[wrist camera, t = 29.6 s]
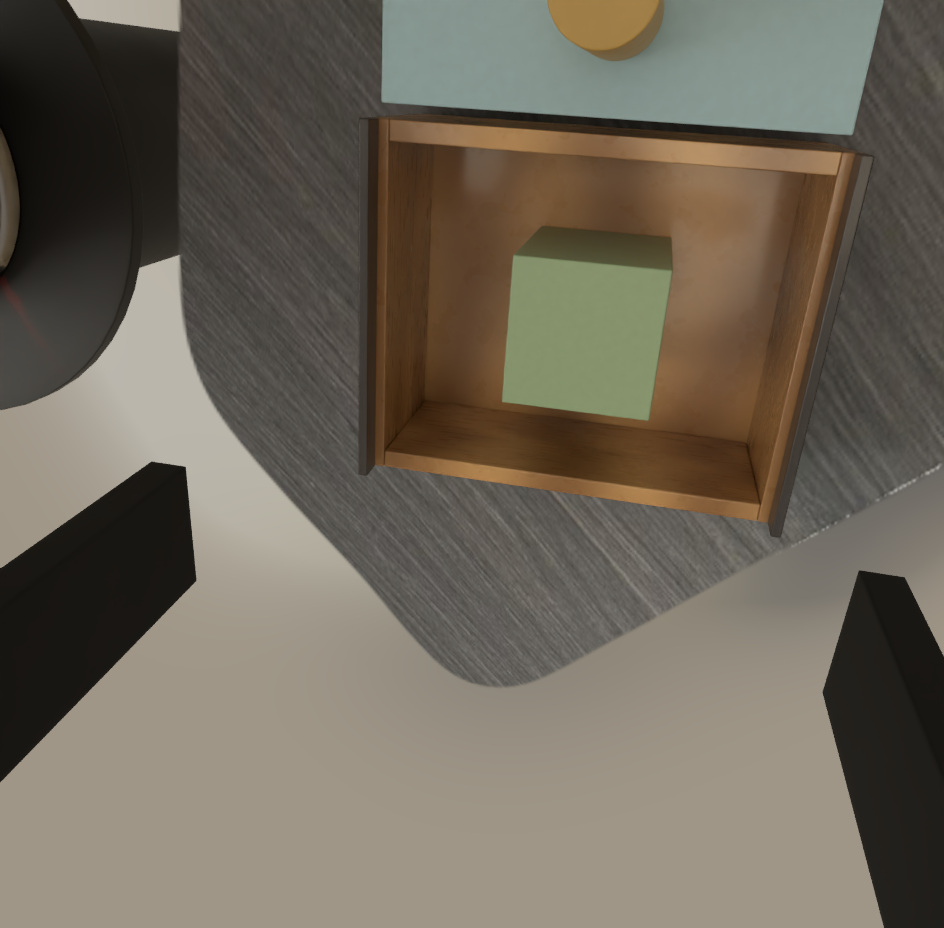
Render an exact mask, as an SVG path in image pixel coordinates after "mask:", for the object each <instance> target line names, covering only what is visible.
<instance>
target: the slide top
mask: <svg viewBox="0 0 944 928" xmlns="http://www.w3.org/2000/svg"><path fill="white" fill-rule="evenodd" d="M883 3H884V0H383V26H382V103H393V104H408V105H422V106H436V107H451V108H465V109H479V110H494V111H508V112H522V113H537V114H551V115H565V116H580V117H594V118H608V119H623V120H637V121H651V122H666V123H680V124H694V125H708V126H723V127H737V128H751V129H766V130H780V131H794V132H809V133H823V134H837V135H852V134H853V131H854V127H855V123H856V119H857V114H858V110H859V106H860V101H861V97H862V93H863V89H864V84H865V80H866V76H867V72H868V67H869V63H870V59H871V54H872V50H873V46H874V42H875V37H876V33H877V29H878V25H879V20H880V16H881V12H882V7H883Z"/></svg>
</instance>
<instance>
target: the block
mask: <svg viewBox="0 0 944 928" xmlns="http://www.w3.org/2000/svg"><path fill="white" fill-rule="evenodd" d="M672 274H673V262H672V238H670V237H660V236H649V235H638V234H627V233H616V232H605V231H594V230H583V229H572V228H562V227H551V226H541V227H540V228H539V229H538V230H537V231H536V233H535V234H534V235H533V236H532V237H531V238H530V239H529V240H528V241H527V242H526V243H525V244H524V245H523V246H522V247H521V248H520V249H519V250H518V251H517V252H516V253H515V254H514V255H513V264H512V277H511V290H510V302H509V315H508V328H507V341H506V354H505V367H504V380H503V393H502V402H507V403H514V404H522V405H530V406H538V407H545V408H553V409H561V410H569V411H576V412H584V413H592V414H600V415H607V416H615V417H623V418H631V419H638V420H646V421H648V420H649V419H650V413H651V407H652V400H653V394H654V388H655V382H656V375H657V369H658V363H659V356H660V350H661V344H662V337H663V331H664V325H665V318H666V312H667V306H668V299H669V293H670V287H671V281H672Z"/></svg>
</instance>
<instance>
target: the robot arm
mask: <svg viewBox="0 0 944 928" xmlns="http://www.w3.org/2000/svg"><path fill="white" fill-rule="evenodd" d="M20 225H21V192H20V184H19V178H18V173H17V168H16V164H15V161H14V157H13V154H12V151H11V148H10V145H9V142H8V140H7V137H6V135H5V132H4V130H3V128H2V126H1V123H0V278H1V276H2V275H3V273H4V272H5V271H6V269H7V267H8V265H9V263H10V261H11V259H12V257H13V254H14V252H15V249H16V246H17V242H18V238H19V232H20ZM194 582H196V571H195V561H194V550H193V540H192V529H191V519H190V508H189V498H188V488H187V477H186V467H183V466H176V465H170V464H163V463H156V462H150V463H149V464H148V465H146V466H145V467H143V468H142V469H141V470H139V471H138V472H136V473H135V474H133V475H132V476H131V477H129V478H128V479H126V480H125V481H124V482H122V483H121V484H119V485H118V486H117V487H116V488H114V489H112V490H111V491H110V492H108V493H107V494H105V495H104V496H103V497H101V498H100V499H98V500H97V501H95V502H94V503H93V504H91V505H90V506H88V507H87V508H86V509H84V510H83V511H81V512H80V513H78V514H77V515H76V516H74V517H73V518H72V519H70V520H68V521H67V522H66V523H64V524H63V525H61V526H60V527H59V528H57V529H56V530H55V531H53V532H52V533H50V534H49V535H47V536H46V537H44V538H43V539H42V540H40V541H39V542H37V543H36V544H35V545H33V546H32V547H30V548H29V549H28V550H26V551H25V552H23V553H22V554H20V555H19V556H18V557H16V558H15V559H14V560H12V561H11V562H9V563H8V564H6V565H5V566H4V567H2V568H0V782H1V781H2V780H3V779H4V778H5V777H6V776H7V775H8V774H9V773H10V772H11V771H12V770H13V769H14V768H15V766H17V764H18V763H19V762H20V761H21V760H22V759H23V758H24V757H25V756H26V755H27V754H28V753H29V752H30V751H31V750H32V749H33V748H34V747H35V746H36V745H37V744H38V743H39V742H40V741H41V740H42V739H43V738H44V737H45V736H46V735H47V734H48V733H49V732H50V731H51V729H53V728H54V726H55V725H56V724H57V723H58V722H59V721H60V720H61V719H62V718H63V717H64V716H65V715H66V714H67V713H68V712H69V711H70V710H71V709H72V708H73V707H74V706H75V705H76V704H77V703H78V702H79V701H80V700H81V699H82V698H83V697H84V696H85V695H86V694H87V693H88V692H89V690H90V689H91V688H92V687H93V686H94V685H95V684H96V683H97V682H98V681H99V680H100V679H101V678H102V677H103V676H104V675H105V674H106V673H107V672H108V671H109V670H110V669H111V668H112V667H113V666H114V665H115V664H116V662H118V660H120V659H121V658H122V657H123V655H124V654H125V653H126V652H127V651H128V650H129V649H130V648H131V647H132V646H133V645H134V644H135V643H136V642H137V641H138V640H139V639H140V638H141V637H142V636H143V635H144V634H145V633H146V632H147V631H148V630H149V629H150V628H151V627H152V626H153V625H154V624H155V623H156V622H157V621H158V619H159V618H161V616H162V615H163V614H164V613H165V612H166V611H167V610H168V609H169V608H170V607H171V606H172V605H173V604H174V603H175V602H176V601H177V600H178V599H179V598H180V597H181V596H182V595H183V594H184V593H185V592H186V591H187V590H188V589H189V588H190V587H191V586H192V585H193V584H194ZM823 696H824V700H825V703H826V707H827V711H828V715H829V719H830V723H831V726H832V730H833V734H834V738H835V742H836V745H837V749H838V753H839V757H840V761H841V764H842V768H843V772H844V776H845V780H846V784H847V788H848V791H849V795H850V799H851V803H852V807H853V811H854V814H855V818H856V822H857V825H858V829H859V833H860V837H861V841H862V844H863V849H864V852H865V856H866V860H867V864H868V868H869V872H870V876H871V879H872V883H873V887H874V890H875V895H876V898H877V902H878V906H879V910H880V914H881V917H882V921H883V925H884V928H944V656H943V654H942V652H941V650H940V649H939V646H938V644H937V642H936V640H935V638H934V636H933V634H932V632H931V630H930V628H929V626H928V624H927V622H926V620H925V618H924V616H923V614H922V612H921V610H920V608H919V606H918V604H917V602H916V599H915V598H914V596H913V593H912V591H911V589H910V587H909V585H908V583H907V581H906V579H905V578H904V577H898V576H892V575H886V574H879V573H873V572H866V571H859V572H858V576H857V579H856V582H855V586H854V589H853V593H852V596H851V599H850V602H849V606H848V609H847V612H846V616H845V619H844V623H843V626H842V629H841V633H840V636H839V640H838V643H837V646H836V649H835V653H834V656H833V659H832V663H831V666H830V669H829V673H828V676H827V679H826V683H825V686H824V689H823Z"/></svg>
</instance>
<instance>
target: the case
mask: <svg viewBox="0 0 944 928" xmlns="http://www.w3.org/2000/svg"><path fill="white" fill-rule="evenodd" d="M873 161H874V156H872V155H869V154H865V153H862V152H858V151H855V150H851V149H848V148H844V147H841V146H837V145H834V144H830V143H826V142H812V141H798V140H784V139H770V138H756V137H742V136H728V135H714V134H701V133H687V132H673V131H659V130H645V129H631V128H617V127H603V126H589V125H575V124H561V123H547V122H533V121H519V120H505V119H491V118H477V117H463V116H449V115H435V114H412V115H398V116H383V117H368V118H359V454H358V474H359V475H364V476H367V475H368V473H369V472H370V471H371V470H372V468H373V467H374V466H375V465H379V466H384V465H385V466H388V467H395V468H401V469H408V470H415V471H422V472H429V473H436V474H442V475H449V476H456V477H463V478H470V479H476V480H483V481H490V482H497V483H504V484H510V485H517V486H524V487H531V488H538V489H544V490H551V491H558V492H565V493H572V494H578V495H585V496H592V497H599V498H606V499H612V500H619V501H626V502H633V503H640V504H646V505H653V506H660V507H667V508H674V509H680V510H687V511H694V512H701V513H708V514H714V515H721V516H728V517H735V518H742V519H748V520H758V521H760V522H766V523H768V526H769V531H770V535H771V536H772V537H778V538H780V537H781V534H782V530H783V526H784V522H785V517H786V513H787V509H788V505H789V501H790V497H791V493H792V489H793V485H794V481H795V477H796V473H797V469H798V465H799V461H800V457H801V453H802V449H803V445H804V441H805V436H806V432H807V428H808V424H809V420H810V416H811V412H812V408H813V404H814V400H815V396H816V392H817V388H818V384H819V380H820V376H821V372H822V368H823V364H824V360H825V356H826V351H827V347H828V343H829V339H830V335H831V331H832V327H833V323H834V319H835V315H836V311H837V307H838V303H839V299H840V295H841V291H842V287H843V283H844V279H845V275H846V270H847V266H848V262H849V258H850V254H851V250H852V246H853V242H854V238H855V234H856V230H857V226H858V222H859V218H860V214H861V210H862V206H863V202H864V198H865V194H866V190H867V185H868V181H869V177H870V173H871V169H872V165H873ZM541 226H551V227H562V228H572V229H583V230H594V231H605V232H616V233H627V234H638V235H649V236H660V237H670V238H672V262H673V274H672V281H671V287H670V293H669V299H668V306H667V312H666V318H665V325H664V331H663V337H662V344H661V350H660V356H659V363H658V369H657V375H656V382H655V388H654V394H653V400H652V407H651V413H650V419H649V420H648V421H646V420H638V419H631V418H623V417H615V416H607V415H600V414H592V413H584V412H576V411H569V410H561V409H553V408H545V407H538V406H530V405H522V404H514V403H507V402H502V393H503V380H504V367H505V354H506V341H507V328H508V315H509V302H510V290H511V277H512V264H513V255H514V254H515V253H516V252H517V251H518V250H519V249H520V248H521V247H522V246H523V245H524V244H525V243H526V242H527V241H528V240H529V239H530V238H531V237H532V236H533V235H534V234H535V233H536V231H537V230H538V229H539V228H540V227H541Z"/></svg>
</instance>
